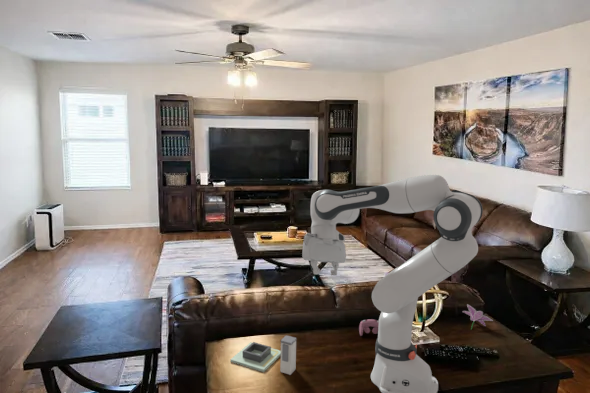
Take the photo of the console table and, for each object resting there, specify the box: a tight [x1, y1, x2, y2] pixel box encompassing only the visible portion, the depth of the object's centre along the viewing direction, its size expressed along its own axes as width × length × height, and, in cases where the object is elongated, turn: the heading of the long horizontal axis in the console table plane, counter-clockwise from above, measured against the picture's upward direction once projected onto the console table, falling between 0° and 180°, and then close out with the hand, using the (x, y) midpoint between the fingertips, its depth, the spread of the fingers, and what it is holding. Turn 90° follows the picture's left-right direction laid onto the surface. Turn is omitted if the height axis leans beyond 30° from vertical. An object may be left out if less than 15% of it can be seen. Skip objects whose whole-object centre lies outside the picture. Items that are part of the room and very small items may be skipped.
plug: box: [279, 334, 297, 376], centre depth 163 cm, size 4×5×12 cm
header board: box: [230, 341, 281, 373], centre depth 171 cm, size 14×14×4 cm
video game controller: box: [358, 318, 379, 337], centre depth 191 cm, size 10×5×7 cm, turn 84°
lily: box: [462, 303, 494, 330], centre depth 199 cm, size 12×12×10 cm
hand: (325, 274), depth 161 cm, fingers open, 8 cm apart
